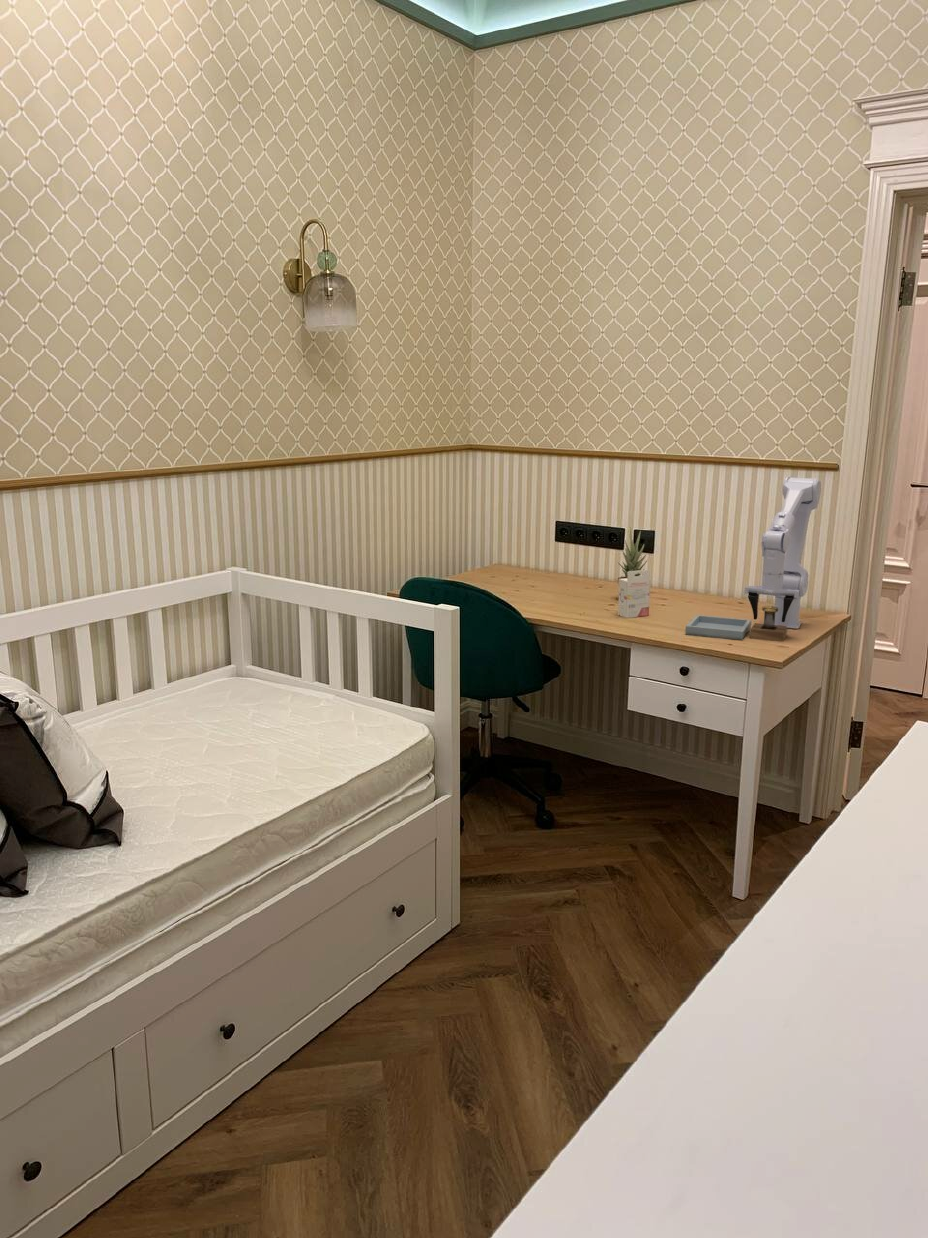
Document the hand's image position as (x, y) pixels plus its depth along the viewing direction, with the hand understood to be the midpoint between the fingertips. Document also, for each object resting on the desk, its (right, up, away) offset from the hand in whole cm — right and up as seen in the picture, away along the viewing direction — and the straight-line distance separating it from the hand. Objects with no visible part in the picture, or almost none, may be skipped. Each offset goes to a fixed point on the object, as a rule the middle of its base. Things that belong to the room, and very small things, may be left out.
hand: (769, 620), depth 277 cm
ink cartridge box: (-34, +1, +27) cm, 43 cm away
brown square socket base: (0, -5, +1) cm, 5 cm away
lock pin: (0, -5, +1) cm, 5 cm away
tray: (-13, -3, +7) cm, 15 cm away
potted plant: (-31, +7, +50) cm, 59 cm away
